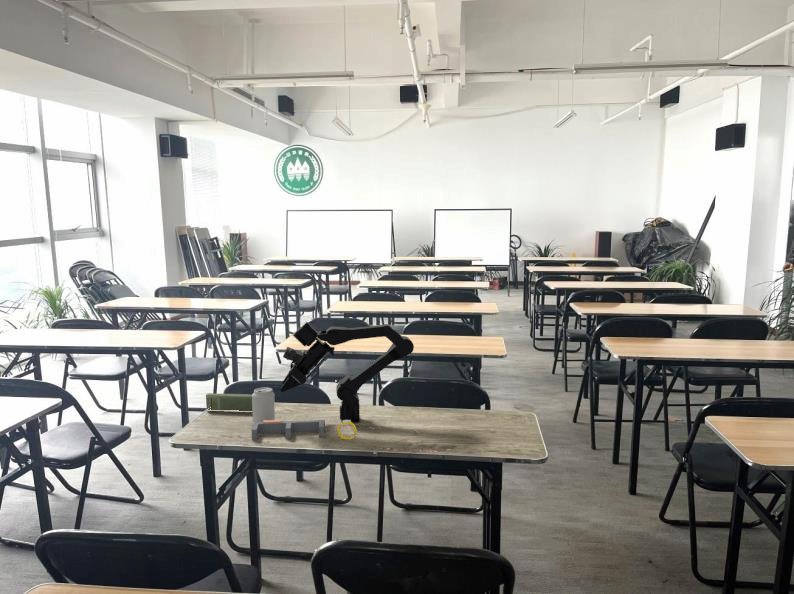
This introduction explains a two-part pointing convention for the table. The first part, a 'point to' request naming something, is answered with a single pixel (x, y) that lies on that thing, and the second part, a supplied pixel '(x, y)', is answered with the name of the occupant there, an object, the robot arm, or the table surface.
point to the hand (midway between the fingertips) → (282, 387)
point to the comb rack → (287, 427)
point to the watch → (351, 425)
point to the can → (263, 405)
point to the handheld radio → (229, 402)
